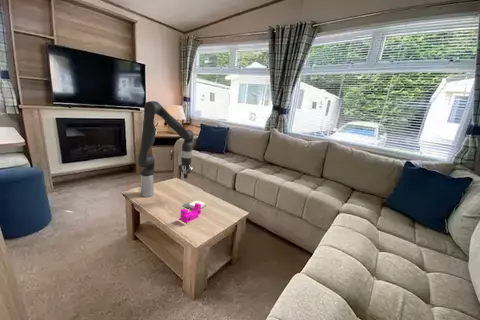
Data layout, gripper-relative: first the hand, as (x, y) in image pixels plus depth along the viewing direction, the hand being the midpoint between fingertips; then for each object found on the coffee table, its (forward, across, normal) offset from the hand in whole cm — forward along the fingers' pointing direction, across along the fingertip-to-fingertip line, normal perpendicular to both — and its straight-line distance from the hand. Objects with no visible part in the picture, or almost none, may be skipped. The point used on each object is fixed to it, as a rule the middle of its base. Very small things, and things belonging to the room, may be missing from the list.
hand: (185, 178), depth 167 cm
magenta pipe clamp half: (+20, +22, -14) cm, 33 cm away
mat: (+20, +11, 0) cm, 23 cm away
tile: (+18, +9, 0) cm, 20 cm away
